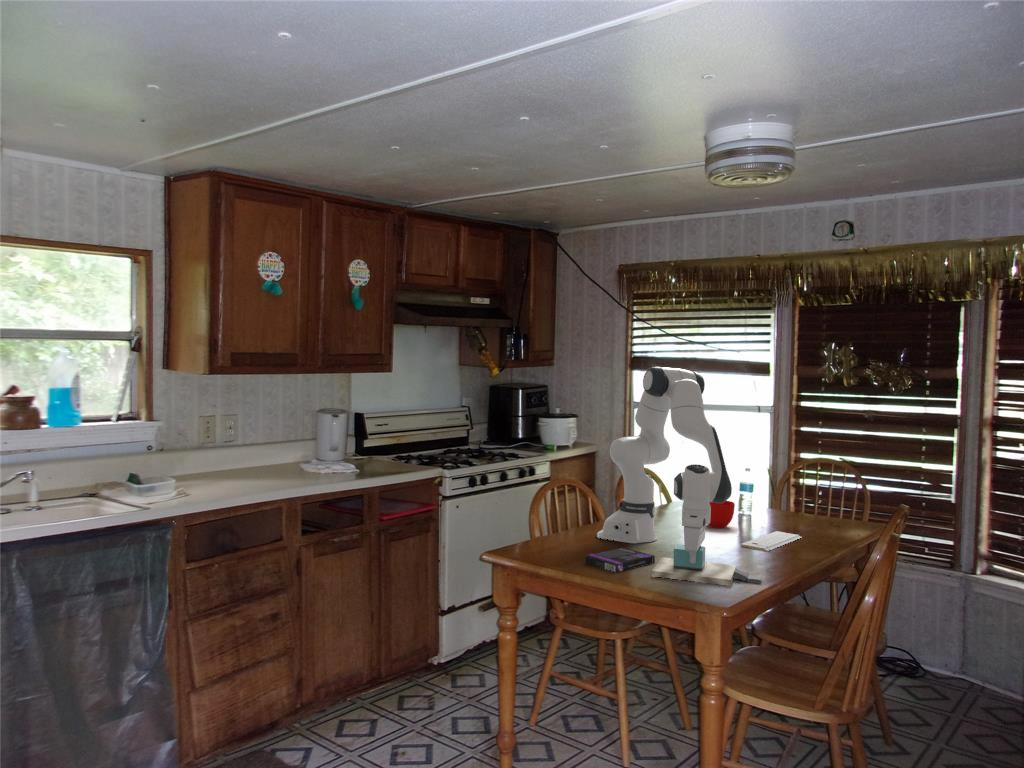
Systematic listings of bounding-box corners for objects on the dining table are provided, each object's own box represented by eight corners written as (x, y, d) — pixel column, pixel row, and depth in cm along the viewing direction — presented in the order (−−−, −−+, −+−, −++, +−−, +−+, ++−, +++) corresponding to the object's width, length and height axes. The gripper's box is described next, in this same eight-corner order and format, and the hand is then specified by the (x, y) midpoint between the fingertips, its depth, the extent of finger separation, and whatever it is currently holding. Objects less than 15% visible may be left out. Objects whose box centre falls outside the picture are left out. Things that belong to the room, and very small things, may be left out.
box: (615, 575, 254) (655, 564, 266) (616, 564, 254) (655, 554, 266) (584, 565, 264) (624, 555, 277) (584, 555, 264) (624, 545, 277)
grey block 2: (760, 579, 244) (760, 585, 244) (761, 576, 248) (761, 581, 248) (747, 578, 246) (746, 583, 246) (748, 574, 249) (747, 580, 249)
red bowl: (729, 521, 335) (730, 498, 334) (736, 530, 318) (737, 506, 317) (698, 520, 336) (698, 497, 336) (703, 529, 319) (704, 504, 319)
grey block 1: (733, 576, 247) (734, 571, 247) (734, 573, 251) (736, 568, 251) (745, 581, 246) (747, 577, 246) (746, 578, 250) (748, 573, 249)
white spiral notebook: (806, 540, 307) (776, 535, 315) (806, 532, 306) (776, 527, 315) (771, 554, 284) (740, 548, 292) (771, 545, 283) (740, 540, 292)
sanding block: (673, 567, 252) (673, 548, 252) (676, 562, 259) (677, 544, 258) (702, 570, 249) (702, 551, 249) (704, 565, 255) (705, 546, 255)
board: (651, 577, 249) (651, 570, 249) (662, 563, 266) (662, 557, 266) (730, 586, 241) (730, 579, 241) (736, 571, 257) (736, 565, 257)
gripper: (690, 509, 263) (689, 551, 264) (681, 521, 244) (679, 566, 245) (710, 511, 261) (709, 553, 262) (701, 523, 242) (700, 568, 243)
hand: (694, 559), depth 253 cm, fingers closed on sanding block, 6 cm apart
